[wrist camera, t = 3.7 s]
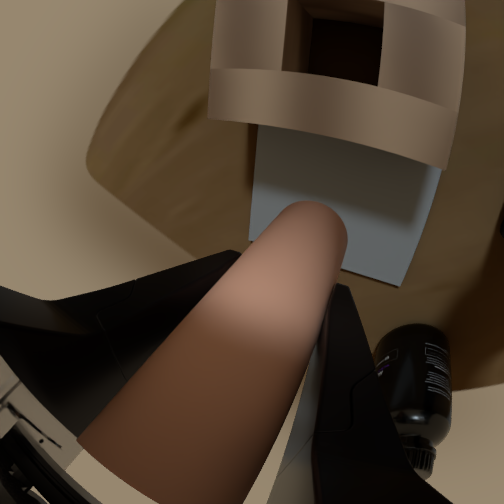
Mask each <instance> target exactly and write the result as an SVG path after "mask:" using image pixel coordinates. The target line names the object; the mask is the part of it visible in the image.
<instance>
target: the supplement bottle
mask: <svg viewBox="0 0 504 504" xmlns="http://www.w3.org/2000/svg"><path fill="white" fill-rule="evenodd" d="M374 364H375V367H376V371H377V373H378V377H379V381H380V384H381V387H382V390H383V393H384V397H385V400H386V402H387V405H388V408H389V410H390V413H391V416H392V418H393V421H394V423H395V426H396V428H397V431H398V434H399V436H400V439H401V441H402V444H403V447H404V449H405V452H406V455H407V457H408V460H409V462H410V463H411V465H412V467H413V468H414V470H415V471H416V473H417V474H418V475H419V476H420V477H421V478H422V479H424V480H426V479H427V478H429V477H430V476H431V474H432V470H433V464H434V460H435V458H436V449H435V448H434V447H436V446H437V445H439V444H440V443H441V442H442V441H443V440H444V438H445V437H446V436H447V434H448V432H449V430H450V426H451V412H452V384H451V362H450V350H449V343H448V340H447V338H446V336H445V335H444V334H443V333H442V332H441V331H440V330H439V329H437V328H435V327H433V326H431V325H427V324H419V323H416V324H407V325H403V326H400V327H398V328H396V329H394V330H392V331H391V332H389V333H388V334H387V335H386V336H385V337H384V338H383V339H382V340H381V341H380V343H379V345H378V348H377V351H376V357H375V362H374Z"/></svg>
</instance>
